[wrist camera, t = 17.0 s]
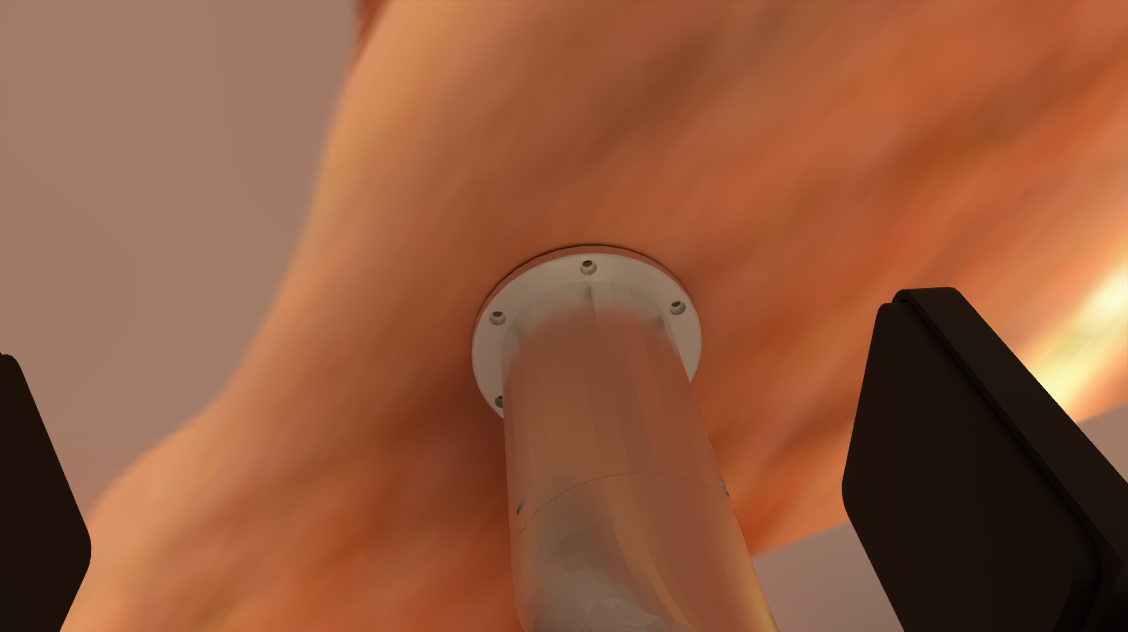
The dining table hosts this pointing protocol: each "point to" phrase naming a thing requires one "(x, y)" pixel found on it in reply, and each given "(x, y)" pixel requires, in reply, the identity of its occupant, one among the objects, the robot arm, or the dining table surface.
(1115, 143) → the dining table surface
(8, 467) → the robot arm
